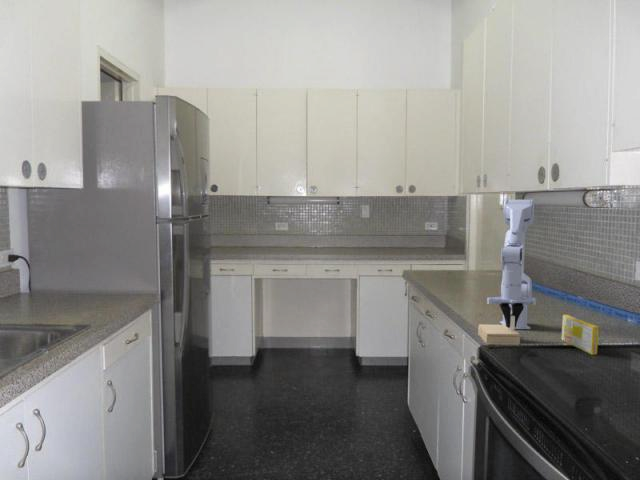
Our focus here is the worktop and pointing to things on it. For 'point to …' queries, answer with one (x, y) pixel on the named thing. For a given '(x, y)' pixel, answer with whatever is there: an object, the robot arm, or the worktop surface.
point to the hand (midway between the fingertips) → (510, 326)
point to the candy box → (580, 334)
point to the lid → (500, 329)
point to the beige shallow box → (498, 339)
